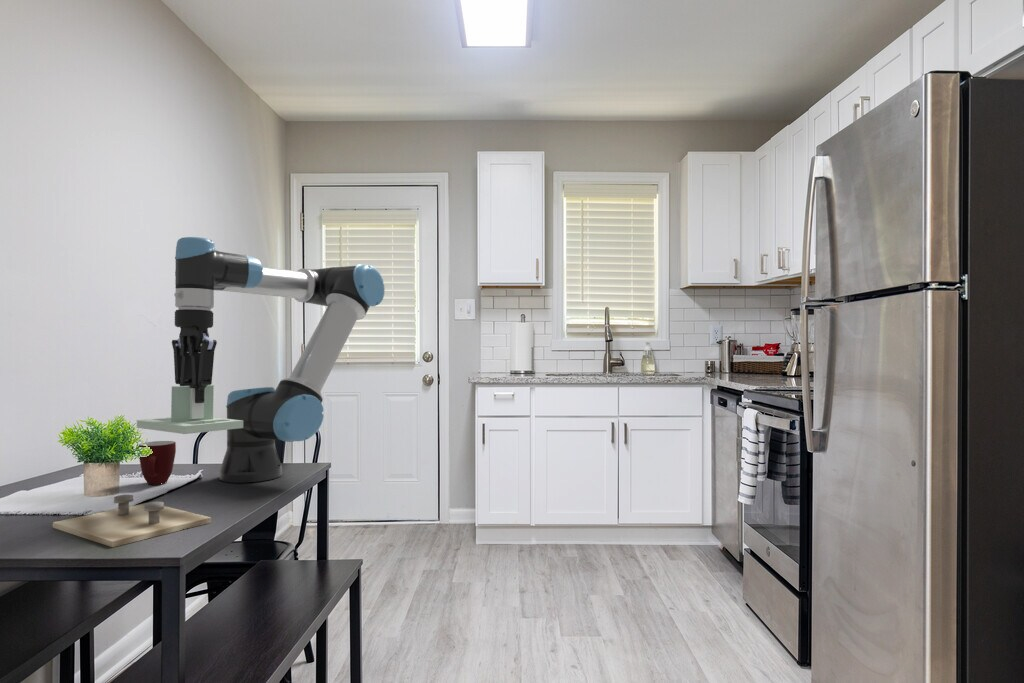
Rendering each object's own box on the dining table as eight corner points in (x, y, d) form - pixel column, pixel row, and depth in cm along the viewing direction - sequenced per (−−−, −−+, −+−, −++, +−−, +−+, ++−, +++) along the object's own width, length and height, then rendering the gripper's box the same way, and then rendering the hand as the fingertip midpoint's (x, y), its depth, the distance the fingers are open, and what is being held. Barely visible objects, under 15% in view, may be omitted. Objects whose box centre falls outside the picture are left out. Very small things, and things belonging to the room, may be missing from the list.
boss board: (149, 507, 135) (149, 485, 135) (211, 522, 124) (211, 498, 124) (52, 527, 120) (52, 503, 120) (112, 547, 108) (112, 520, 108)
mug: (173, 487, 154) (173, 446, 154) (134, 490, 151) (135, 448, 151) (176, 478, 164) (177, 440, 164) (140, 481, 161) (141, 442, 161)
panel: (194, 422, 148) (195, 383, 148) (243, 427, 138) (243, 386, 138) (136, 427, 137) (137, 385, 137) (184, 434, 127) (185, 388, 127)
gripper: (157, 309, 139) (155, 417, 139) (198, 307, 131) (196, 421, 130) (190, 311, 146) (189, 414, 145) (231, 309, 137) (230, 418, 137)
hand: (192, 417), depth 138 cm, fingers closed on panel, 2 cm apart
